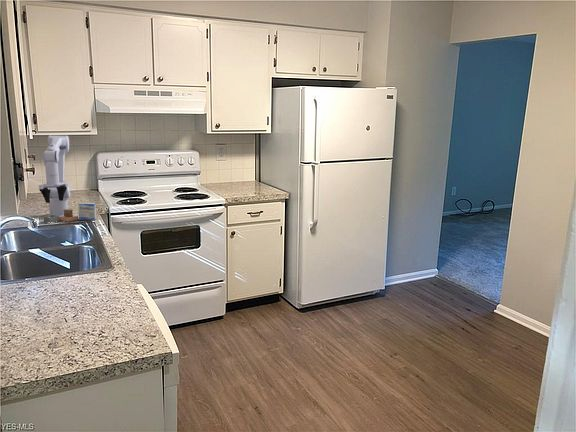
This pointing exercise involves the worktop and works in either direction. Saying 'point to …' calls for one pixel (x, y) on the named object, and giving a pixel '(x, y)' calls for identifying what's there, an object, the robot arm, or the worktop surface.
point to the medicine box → (87, 211)
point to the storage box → (51, 218)
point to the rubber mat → (69, 221)
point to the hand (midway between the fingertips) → (54, 201)
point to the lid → (68, 216)
